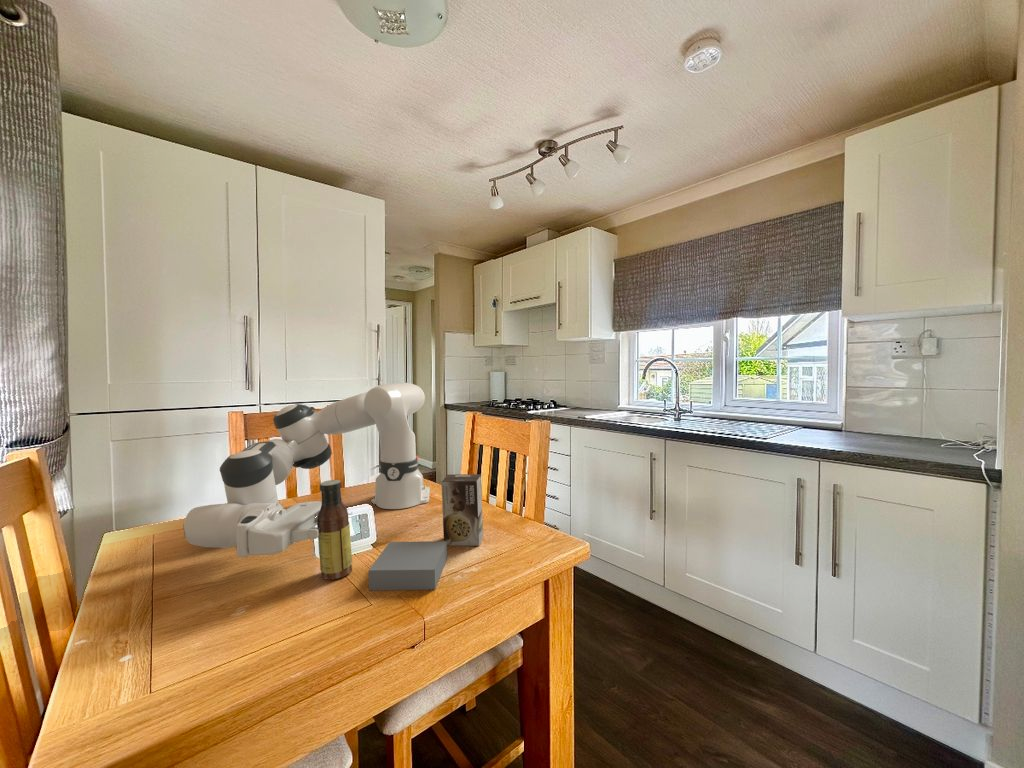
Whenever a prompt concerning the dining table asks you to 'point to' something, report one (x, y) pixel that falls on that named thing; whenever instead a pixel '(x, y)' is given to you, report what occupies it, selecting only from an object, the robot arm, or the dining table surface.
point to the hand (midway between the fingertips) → (330, 523)
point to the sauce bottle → (334, 533)
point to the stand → (408, 566)
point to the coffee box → (462, 509)
